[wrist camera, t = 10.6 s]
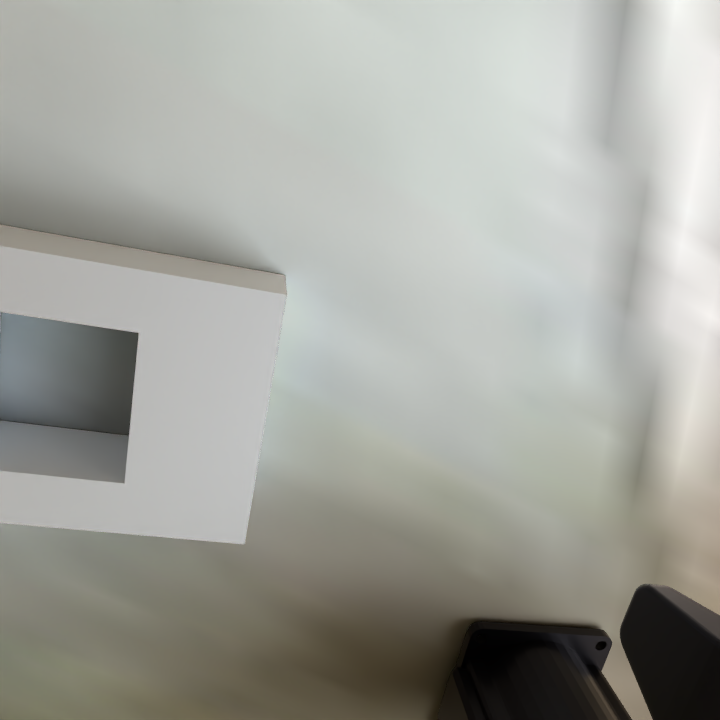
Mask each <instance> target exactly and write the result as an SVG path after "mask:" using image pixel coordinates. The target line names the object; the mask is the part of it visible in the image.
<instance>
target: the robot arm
mask: <svg viewBox="0 0 720 720" xmlns="http://www.w3.org/2000/svg"><path fill="white" fill-rule="evenodd" d="M479 634H482V635H480V636H477V635H479ZM620 639H621V643H622V646H623V649H624V651H625V653H626V656H627V658H628V661H629V663H630V666H631V668H632V670H633V673H634V675H635V678H636V680H637V682H638V685H639V687H640V690H641V692H642V694H643V697H644V699H645V702H646V704H647V707H648V709H649V711H650V714H651V716H652V719H653V720H720V615H718V614H716V613H714V612H713V611H711V610H709V609H707V608H706V607H704V606H702V605H700V604H699V603H697V602H695V601H693V600H692V599H690V598H688V597H687V596H685V595H683V594H681V593H680V592H678V591H676V590H674V589H673V588H671V587H668V586H665V585H653V584H643V585H640V586H639V587H638V588H637V589H636V591H635V593H634V595H633V597H632V600H631V602H630V605H629V607H628V610H627V612H626V615H625V617H624V619H623V622H622V624H621V628H620ZM611 646H612V641H611V639H610V638H609V636H608V635H607V633H606V632H605V631H604V630H600V629H587V628H572V627H557V626H542V625H527V624H513V623H498V622H483V621H481V622H475V623H473V624H472V625H471V626H469V628H468V630H467V632H466V636H465V639H464V642H463V645H462V648H461V651H460V654H459V658H458V661H457V664H456V667H455V668H454V669H453V670H452V672H451V674H450V677H449V680H448V683H447V686H446V690H445V693H444V696H443V699H442V702H441V706H440V709H439V712H438V719H439V720H632V719H631V717H630V716H629V714H628V713H627V711H626V709H625V708H624V706H623V705H622V703H621V702H620V700H619V699H618V697H617V695H616V694H615V692H614V691H613V689H612V688H611V686H610V685H609V683H608V681H607V680H606V678H605V677H604V675H603V674H602V672H601V671H602V668H603V666H604V663H605V661H606V658H607V656H608V653H609V651H610V649H611Z"/></svg>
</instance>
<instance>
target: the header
mask: <svg viewBox="0 0 720 720" xmlns="http://www.w3.org/2000/svg"><path fill="white" fill-rule="evenodd" d="M286 297H287V290H286V278H285V275H281V274H276V273H270V272H264V271H259V270H253V269H248V268H242V267H236V266H231V265H225V264H220V263H214V262H208V261H203V260H197V259H191V258H186V257H180V256H175V255H169V254H163V253H158V252H152V251H146V250H141V249H135V248H130V247H124V246H118V245H113V244H107V243H101V242H96V241H90V240H85V239H79V238H73V237H68V236H62V235H57V234H51V233H45V232H40V231H34V230H28V229H23V228H17V227H12V226H6V225H0V332H1V312H3V313H10V314H17V315H23V316H30V317H37V318H43V319H50V320H56V321H63V322H70V323H76V324H83V325H89V326H96V327H103V328H109V329H116V330H122V331H129V332H136V333H139V336H138V347H137V357H136V368H135V378H134V389H133V399H132V410H131V420H130V431H129V436H127V435H118V434H110V433H101V432H93V431H85V430H76V429H68V428H59V427H51V426H42V425H34V424H25V423H17V422H9V421H0V523H6V524H17V525H29V526H40V527H51V528H63V529H74V530H86V531H97V532H109V533H120V534H132V535H143V536H155V537H166V538H178V539H189V540H200V541H212V542H223V543H235V544H245V540H246V534H247V528H248V522H249V516H250V510H251V504H252V498H253V492H254V486H255V481H256V475H257V469H258V463H259V457H260V451H261V445H262V439H263V433H264V427H265V421H266V415H267V410H268V404H269V398H270V392H271V386H272V380H273V374H274V368H275V362H276V356H277V350H278V344H279V339H280V333H281V327H282V321H283V315H284V309H285V303H286Z"/></svg>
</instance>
